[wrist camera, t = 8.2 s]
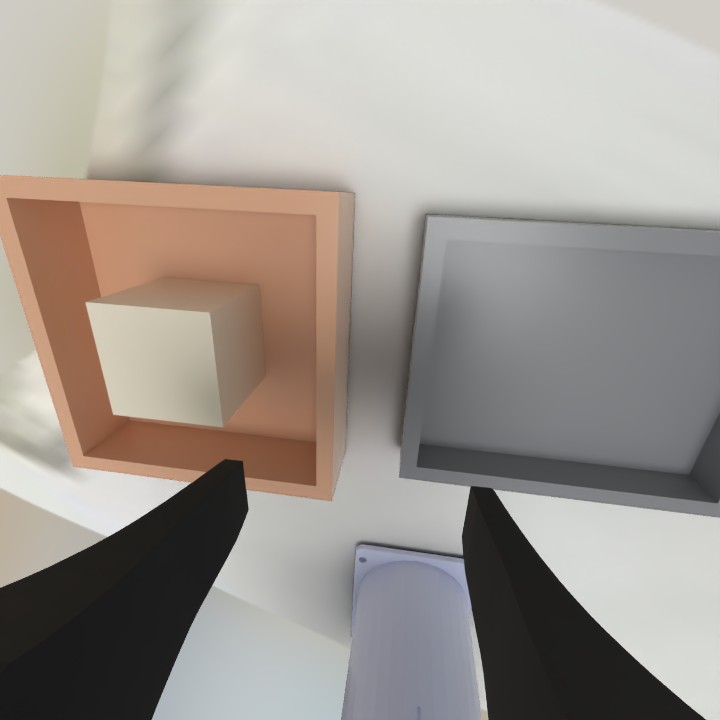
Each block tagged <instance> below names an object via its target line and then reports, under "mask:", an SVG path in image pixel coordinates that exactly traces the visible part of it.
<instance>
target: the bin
mask: <svg viewBox="0 0 720 720" xmlns="http://www.w3.org/2000/svg"><path fill="white" fill-rule="evenodd" d="M354 212H355V193H347V192H334V191H314V190H294V189H273V188H253V187H233V186H213V185H193V184H173V183H152V182H132V181H112V180H92V179H72V178H52V177H31V176H11V175H0V236H1V240H2V243H3V246H4V249H5V252H6V255H7V258H8V262H9V265H10V268H11V271H12V274H13V278H14V281H15V284H16V287H17V290H18V293H19V296H20V300H21V303H22V306H23V309H24V312H25V315H26V319H27V322H28V325H29V328H30V331H31V334H32V338H33V341H34V344H35V347H36V350H37V353H38V357H39V360H40V363H41V366H42V369H43V372H44V376H45V379H46V382H47V385H48V388H49V391H50V394H51V398H52V401H53V404H54V407H55V410H56V413H57V417H58V420H59V423H60V426H61V429H62V432H63V436H64V439H65V442H66V445H67V448H68V451H69V455H70V458H71V461H72V464H73V467H80V468H87V469H95V470H102V471H110V472H117V473H125V474H132V475H140V476H147V477H155V478H162V479H170V480H177V481H185V482H194V481H195V480H196V479H198V478H199V477H200V476H202V475H203V474H205V473H206V472H207V471H209V470H210V469H211V468H213V467H214V466H216V465H217V464H218V463H220V462H221V461H223V460H224V459H230V460H239V461H243V466H244V475H245V483H246V490H252V491H260V492H267V493H275V494H282V495H290V496H297V497H305V498H312V499H320V500H327V501H332V500H333V496H334V492H335V489H336V485H337V481H338V478H339V474H340V470H341V466H342V463H343V459H344V455H345V450H346V424H347V397H348V371H349V344H350V318H351V291H352V265H353V238H354ZM164 277H166V278H179V279H193V280H206V281H219V282H232V283H246V284H259V285H260V293H261V310H262V327H263V344H264V360H265V378H264V379H263V380H262V381H261V382H260V384H259V385H258V386H257V387H256V388H255V390H254V391H253V392H252V393H251V394H250V396H249V397H248V398H247V399H246V400H245V402H244V403H243V404H242V405H241V406H240V408H239V409H238V410H237V411H236V412H235V414H234V415H233V416H232V417H231V418H230V420H229V421H228V422H227V423H226V424H225V426H224V427H215V426H206V425H198V424H189V423H181V422H172V421H163V420H155V419H146V418H138V417H129V416H120V415H113V412H112V408H111V404H110V400H109V396H108V392H107V388H106V384H105V380H104V376H103V372H102V368H101V363H100V359H99V355H98V351H97V347H96V343H95V339H94V335H93V331H92V327H91V323H90V319H89V315H88V311H87V307H86V303H85V302H87V301H90V300H94V299H97V298H100V297H103V296H106V295H110V294H113V293H116V292H119V291H122V290H125V289H129V288H132V287H135V286H138V285H141V284H144V283H148V282H151V281H154V280H157V279H160V278H164Z"/></svg>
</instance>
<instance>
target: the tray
mask: <svg viewBox="0 0 720 720" xmlns="http://www.w3.org/2000/svg"><path fill="white" fill-rule="evenodd" d="M399 478H406V479H414V480H423V481H431V482H439V483H447V484H455V485H463V486H477V487H487V488H492V489H495V490H503V491H511V492H519V493H527V494H535V495H543V496H551V497H559V498H567V499H575V500H583V501H591V502H599V503H607V504H615V505H623V506H631V507H639V508H647V509H655V510H663V511H671V512H679V513H687V514H695V515H703V516H711V517H720V230H710V229H691V228H673V227H654V226H636V225H618V224H599V223H581V222H562V221H544V220H526V219H507V218H489V217H470V216H452V215H434V214H426V219H425V228H424V237H423V246H422V256H421V265H420V274H419V284H418V293H417V302H416V311H415V321H414V330H413V339H412V348H411V358H410V367H409V376H408V385H407V395H406V404H405V413H404V422H403V432H402V441H401V452H400V472H399Z"/></svg>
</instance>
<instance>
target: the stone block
mask: <svg viewBox="0 0 720 720" xmlns="http://www.w3.org/2000/svg"><path fill="white" fill-rule="evenodd" d="M85 303H86V307H87V311H88V315H89V319H90V323H91V327H92V331H93V335H94V339H95V343H96V347H97V351H98V355H99V359H100V363H101V368H102V372H103V376H104V380H105V384H106V388H107V392H108V396H109V400H110V404H111V408H112V412H113V415H120V416H129V417H138V418H146V419H155V420H163V421H172V422H181V423H189V424H198V425H206V426H215V427H224V426H225V424H226V423H227V422H228V421H229V420H230V418H231V417H232V416H233V415H234V414H235V412H236V411H237V410H238V409H239V408H240V406H241V405H242V404H243V403H244V402H245V400H246V399H247V398H248V397H249V396H250V394H251V393H252V392H253V391H254V390H255V388H256V387H257V386H258V385H259V384H260V382H261V381H262V380H263V379H264V378H265V360H264V344H263V327H262V310H261V293H260V285H259V284H246V283H232V282H219V281H206V280H193V279H179V278H166V277H164V278H160V279H157V280H154V281H151V282H148V283H144V284H141V285H138V286H135V287H132V288H129V289H125V290H122V291H119V292H116V293H113V294H110V295H106V296H103V297H100V298H97V299H94V300H90V301H87V302H85Z"/></svg>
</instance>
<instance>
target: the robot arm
mask: <svg viewBox="0 0 720 720" xmlns="http://www.w3.org/2000/svg"><path fill="white" fill-rule="evenodd" d="M248 510H249V509H248V501H247V492H246V483H245V475H244V466H243V461H239V460H230V459H224V460H223V461H221V462H220V463H218V464H217V465H216V466H214V467H213V468H211V469H210V470H209V471H207V472H206V473H205V474H203V475H202V476H200V477H199V478H198V479H196V480H195V481H194V482H192V483H191V484H189V485H188V486H187V487H185V488H184V489H182V490H181V491H179V492H178V493H177V494H175V495H174V496H172V497H171V498H170V499H168V500H167V501H165V502H164V503H162V504H161V505H159V506H158V507H156V508H154V509H153V510H151V511H150V512H148V513H147V514H145V515H144V516H142V517H141V518H139V519H138V520H136V521H134V522H133V523H131V524H130V525H128V526H126V527H125V528H123V529H121V530H119V531H118V532H116V533H114V534H112V535H111V536H109V537H107V538H105V539H103V540H102V541H100V542H98V543H96V544H94V545H93V546H91V547H89V548H87V549H85V550H83V551H81V552H78V553H77V554H75V555H73V556H70V557H68V558H66V559H64V560H62V561H60V562H58V563H56V564H54V565H52V566H50V567H48V568H46V569H43V570H41V571H39V572H37V573H34V574H32V575H30V576H28V577H25V578H23V579H21V580H18V581H16V582H14V583H11V584H9V585H6V586H4V587H2V588H0V720H151V719H152V717H153V714H154V712H155V709H156V707H157V704H158V702H159V699H160V697H161V694H162V692H163V689H164V687H165V685H166V682H167V680H168V677H169V675H170V673H171V670H172V668H173V666H174V663H175V661H176V659H177V656H178V654H179V652H180V649H181V647H182V645H183V643H184V640H185V638H186V636H187V633H188V631H189V629H190V627H191V624H192V623H193V621H194V618H195V616H196V614H197V613H198V611H199V609H200V607H201V605H202V603H203V601H204V599H205V598H206V596H207V594H208V592H209V590H210V588H211V587H212V585H213V583H214V581H215V579H216V578H217V576H218V574H219V572H220V570H221V568H222V567H223V565H224V563H225V561H226V559H227V557H228V555H229V554H230V552H231V550H232V548H233V546H234V544H235V542H236V540H237V538H238V535H239V533H240V531H241V528H242V526H243V523H244V520H245V518H246V515H247V512H248ZM462 543H463V557H464V559H462V558H455V557H448V556H441V555H434V554H427V553H420V552H413V551H406V550H399V549H392V548H385V547H378V546H371V545H364V544H361V545H359V546H357V548H356V554H355V571H354V589H353V606H352V623H351V637H352V645H351V652H350V659H349V667H348V674H347V682H346V689H345V696H344V703H343V710H342V717H341V720H482V716H481V708H480V701H479V693H478V685H477V678H476V670H475V663H474V655H473V647H472V640H471V632H470V624H469V616H470V612H471V608H472V612H473V617H474V622H475V627H476V633H477V638H478V643H479V648H480V653H481V660H482V666H483V673H484V681H485V690H486V700H487V709H488V718H489V720H706V719H704V718H703V717H702V716H701V715H699V714H698V713H697V712H696V711H694V710H693V709H692V708H691V707H689V706H688V705H687V704H686V703H685V702H683V701H682V700H681V699H680V698H679V697H678V696H677V695H675V694H674V693H673V692H672V691H671V690H670V689H668V688H667V687H666V686H665V685H664V684H663V683H661V682H660V681H659V680H658V679H657V678H656V677H654V676H653V675H652V674H651V673H650V672H649V671H648V670H647V669H646V668H644V667H643V666H642V665H641V664H640V663H639V662H638V661H637V660H636V659H635V658H634V657H633V656H632V655H630V654H629V653H628V652H627V651H626V650H625V649H624V648H623V647H622V646H621V645H620V644H619V643H618V642H617V641H616V640H615V639H614V638H613V637H612V636H611V635H609V634H608V633H607V632H606V631H605V630H604V629H603V628H602V627H601V626H600V625H599V624H598V623H597V622H596V621H595V620H594V619H593V618H592V617H591V615H590V614H589V613H588V612H587V611H586V610H585V609H584V608H583V607H582V606H581V605H580V604H579V602H578V601H577V600H576V599H575V598H574V597H573V596H572V595H571V594H570V592H569V591H568V590H567V589H566V588H565V587H564V585H563V584H562V583H561V582H560V581H559V580H558V578H557V577H556V576H555V575H554V573H553V572H552V571H551V570H550V569H549V567H548V566H547V565H546V564H545V562H544V561H543V560H542V559H541V557H540V556H539V555H538V553H537V552H536V551H535V549H534V548H533V547H532V545H531V544H530V543H529V541H528V540H527V539H526V537H525V536H524V534H523V533H522V532H521V530H520V529H519V527H518V526H517V525H516V523H515V522H514V520H513V519H512V517H511V516H510V514H509V513H508V511H507V510H506V508H505V507H504V505H503V504H502V502H501V501H500V499H499V497H498V496H497V494H496V493H495V491H494V490H493V489H492V488H487V487H477V486H471V488H470V494H469V499H468V505H467V511H466V516H465V522H464V527H463V533H462ZM363 557H364V558H363Z"/></svg>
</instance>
